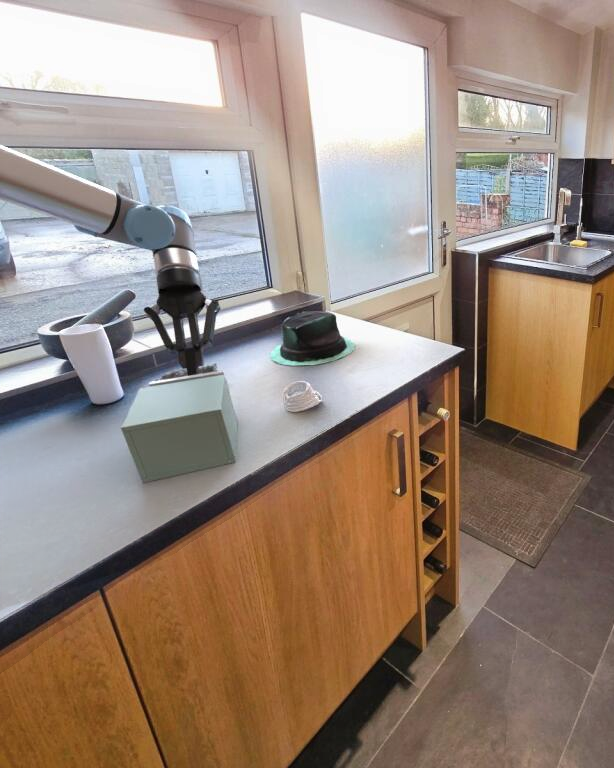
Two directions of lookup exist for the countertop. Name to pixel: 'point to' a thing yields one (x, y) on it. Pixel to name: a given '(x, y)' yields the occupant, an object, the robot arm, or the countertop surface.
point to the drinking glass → (93, 361)
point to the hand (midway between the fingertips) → (194, 381)
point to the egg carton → (183, 373)
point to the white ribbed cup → (300, 397)
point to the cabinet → (181, 428)
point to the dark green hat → (311, 340)
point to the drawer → (186, 378)
